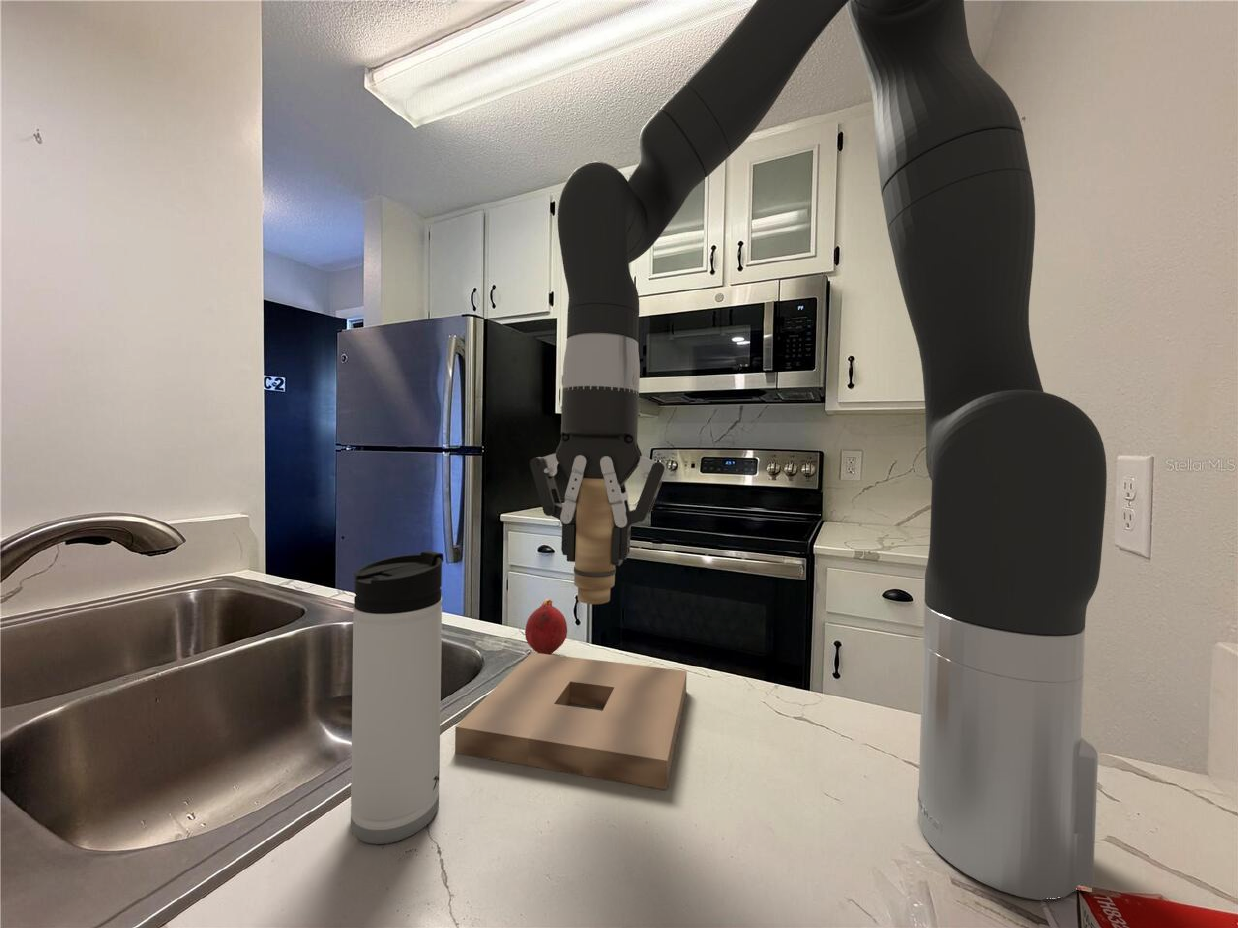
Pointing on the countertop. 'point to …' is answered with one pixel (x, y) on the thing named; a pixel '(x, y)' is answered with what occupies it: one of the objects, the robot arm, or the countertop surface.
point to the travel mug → (396, 696)
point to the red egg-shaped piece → (546, 629)
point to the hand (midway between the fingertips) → (594, 561)
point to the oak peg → (594, 543)
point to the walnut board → (581, 719)
